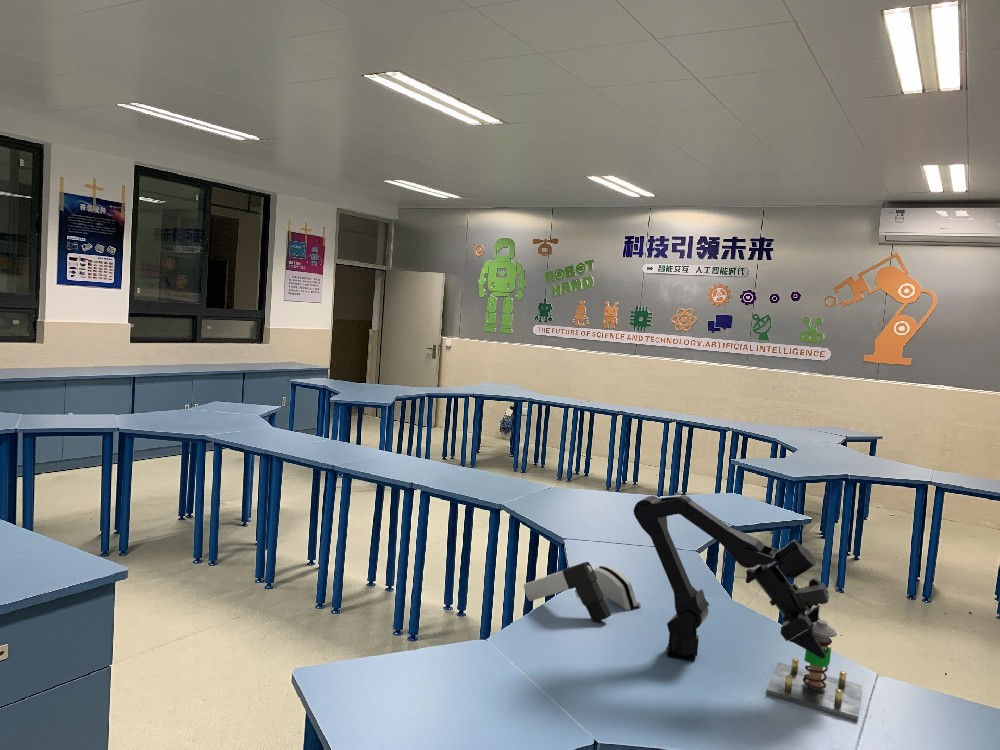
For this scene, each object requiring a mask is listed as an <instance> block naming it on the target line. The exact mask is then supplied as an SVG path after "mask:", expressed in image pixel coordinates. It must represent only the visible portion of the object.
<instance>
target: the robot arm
mask: <svg viewBox="0 0 1000 750" xmlns="http://www.w3.org/2000/svg"><path fill="white" fill-rule="evenodd" d="M675 515H680V516H682V517H683V518H685V519H686V520H687V521H689V522H690V523H691V524H693V525H694V526H696V527H697V528H699V529H700V530H701V531H702V532H704V533H706V534H707V535H708V536H710V537H711V538H713V539H714V540H715V541H717V543H720V544H721V545H722V546H723V547H724V549H725V550H726V552H727V553H728V555H729V556H731V558H733V560H735V561H736V563H738V564H739V565H740V566H741V567H743V568H745V569H747V570H746V571H745V573H746V579H745V583H746V584H750V583H751V582H753V581H754V580H755V581H756V583H757V584H758V585H759V586H760V588H761V589H762V590H763V592H764V593H765V594H766V596H767V597H768V598H769V599H770V601H769V604H770V605H771V606H772V607H774V606H775V607H776V609H778V611H779V612H780V613H781V616H782V617H781V619H782V620H783V623H782V625H781V627H780V635H781V636H782V637H783V639H784V640H785V641H786V642H787V641H789V643H794V644H795V645H797V646H799V647H800V648H802V649H804V650H805V651H806V650H808V651H810V652H811V653H813V654H815V655H816V656H818V657H820V658H822V659H823V658H824V657H826V655H825V653H824V651H823V649H822V648H821V646H820V644H819V643H818V641H817V639H816V637H815V636H814V634H813V625H814V624H813V623H814V622H817V620H821V619H820V615H819V614H820V610H821V609H820V608H821V605H825V604H827V603H829V599H830V596H829V593H828V590H827V586H826V584H825V583H824V582H821V581H820V580H819V579H818V578H816V577H815V578H811V579H809V581H808V586H807V585H805V586H804V587H799V586H798V585H797V584H796V583H794V582H793V583H791V582H790V581H789V580H788V579H787V578H792V579H796V578H798V577H799V576H801V575H803V574H804V573H806V572H808V571H809V570H811V569H812V568H814V567H816V566H817V562H816V560H815V558H814V557H813V555H812V553H811V552H810V550H808V548H806V547H805V546H803V544H801V543H799V542H798V541H797V539H793V540H791V541H790V542H789V543H788V544H787V545H786V546H784V547H782V548H781V549H777V548H775V547H772V546H769V545H767V544H766V545H765V544H764V543H763V542H762V541H761V539H758V538H757V537H754V536H752V535H751V534H749V533H746V532H743V531H739V530H736V529H735V528H733V527H731V526H730V525H728V524H727V523H725V522H724V521H722V520H721V519H719V518H718V517H717V516H715V515H714V514H713V513H711V512H710V511H708V510H707V509H705V508H704V507H702V506H701V505H699V503H696V502H695V501H694V500H692V499H691V497H690V496H688V495H686V494H682V495H679V496H667V497H666V496H665V497H660V498H659V497H658V496H655V495H649V496H646V497H645V498H643V499H641V500H639V501H637V502H636V504H635V505H634V508H633V516H634V517H635V519H636V521H637V523H638V524H639V526H640V527H641V529H643V531H644V532H645V533H646V534H647V535H648V536H649V537H650V539H651V542H652V544H653V546H654V548H655V549H654V550H655V551H656V554H657V556H658V558H659V560H660V563H661V565H662V567H663V570H664V573H665V575H666V577H667V579H668V582H669V584H670V587H671V589H672V592H673V598H674V600H673V601H674V608H675V609H674V610H675V614H674V615H673V616H672V618H671V619H669V621H667V623H666V625H667V630H668V633H669V635H668V643H667V649H666V650H667V652H666V656H667V657H668V658H675V659H680V660H684V661H685V660H686V661H692V662H695V661H696V657H697V656H698V650H699V641H700V640H699V638H700V637H699V635H697V631H698V630H697V629H699V627H700V626H701V625H702V624H703V622H704V621H705V620H706V619H707V618H708V615H709V606H710V603H709V602H708V601H707V599H706V596H705V593H704V590H703V589H699V590H698V591H697V589H696V588H695V587H694V586H693V585H692V583H691V582H690V579H689V577H688V575H687V572H686V570H685V566H684V564H683V563H682V560H681V557H680V555H679V553H678V551H677V549H676V545H675V544H674V541H673V538H672V537H671V536H672V535H671V534H670V531H669V528H668V517H670V516H675ZM755 567H756V568H755ZM753 568H754V569H753ZM811 623H812V624H811Z"/></svg>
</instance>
